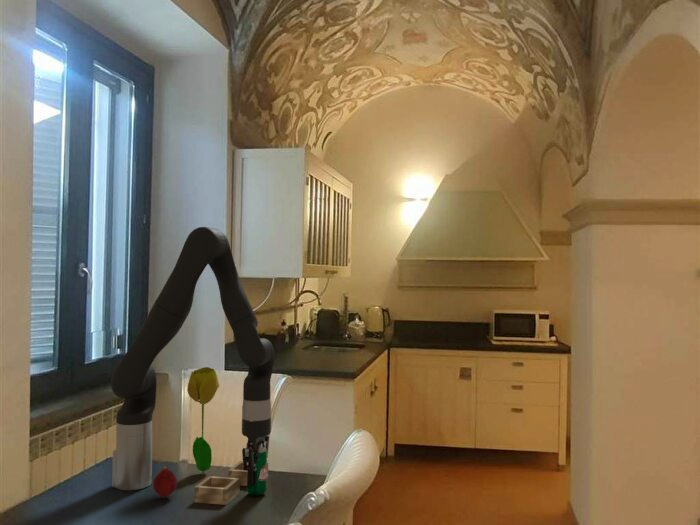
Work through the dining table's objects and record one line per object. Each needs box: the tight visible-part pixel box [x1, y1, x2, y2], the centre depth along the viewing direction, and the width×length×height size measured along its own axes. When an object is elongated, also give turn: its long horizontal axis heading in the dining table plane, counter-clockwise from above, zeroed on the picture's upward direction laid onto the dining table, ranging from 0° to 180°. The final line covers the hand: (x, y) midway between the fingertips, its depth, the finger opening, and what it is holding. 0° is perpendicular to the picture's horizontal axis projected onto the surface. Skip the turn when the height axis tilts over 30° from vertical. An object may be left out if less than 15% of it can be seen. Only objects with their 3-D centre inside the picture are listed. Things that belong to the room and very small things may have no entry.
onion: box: [152, 465, 178, 499], centre depth 156 cm, size 6×6×8 cm
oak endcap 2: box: [227, 460, 269, 487], centre depth 170 cm, size 8×8×4 cm
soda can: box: [246, 446, 268, 496], centre depth 159 cm, size 5×5×12 cm
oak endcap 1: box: [194, 475, 241, 506], centre depth 157 cm, size 8×8×4 cm
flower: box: [187, 366, 220, 474], centre depth 176 cm, size 9×8×30 cm
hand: (255, 481), depth 159 cm, fingers closed on soda can, 5 cm apart
